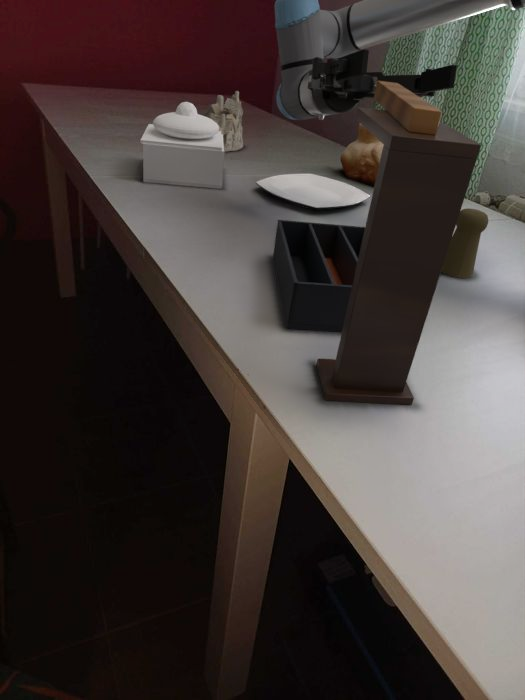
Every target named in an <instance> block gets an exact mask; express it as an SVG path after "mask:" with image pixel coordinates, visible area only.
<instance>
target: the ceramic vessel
mask: <svg viewBox="0 0 525 700" xmlns="http://www.w3.org/2000/svg"><path fill="white" fill-rule="evenodd" d="M383 146H384V144H382V143H381V142H380V141H379V140H378V139H377V138H376V137H375V136H374V135H373V134H371V133H370V132H369V131H368V130H367V129H366V128H365V127H364V126H363V125H361V124H360V123H359V124H358V135H357V139H356V140H354V141H353V142H351V143H349V144H348V145H347V146H346V148H344V150H342V153H341V155H340V163H341V167H342V172H343V174H345V176H346V177H347V178H348V179H350V180H353V181H356V182H360V183H363V184H365V185H366V184H367V185H370V186H373V187H374V186H375V181H376V177H377V172H378V168H379V163H380V159H381V154H382V150H383Z"/></svg>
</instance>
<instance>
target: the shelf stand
mask: <svg viewBox="0 0 525 700" xmlns="http://www.w3.org/2000/svg"><path fill="white" fill-rule="evenodd" d="M355 121H357V122H358V123H359V124H361V125H363V126H364V127H365V128H366V129H367V130H368V131H369V132H370V133H371V134H373V135H374V136H375V137H376V138H377V139H378V140H379V141H380V142H381V143H382V144H384V146H383V150H382V154H381V159H380V163H379V168H378V172H377V177H376V181H375V186H373V191H372V194H371V200H370V205H369V208H368V213H367V218H366V221H365V226H364V227H365V231H364V235H363V240H362V244H361V249H360V253H359V258H358V262H357V267H356V271H355V276H354V280H353V285H352V289H351V293H350V298H349V302H348V307H347V311H346V316H345V320H344V325H343V329H342V332H341V335H340V339H339V344H338V347H337V353H336V357H335V358H317V361H316V368H317V372H318V376H319V379H320V383H321V388H322V392H323V395H324V399H325V401H327V402H345V403H346V402H350V403H371V404H388V405H390V404H391V405H413V402H414V401H415V400H414V399H415V396H414V395H413V392H412V391H411V389H410V387H409V384H408V383H407V381H408V377H409V374H410V371H411V368H412V365H413V361H414V359H415V355H416V352H417V349H418V346H419V342H420V339H421V337H422V334H423V330H424V327H425V323H426V321H427V318H428V314H429V312H430V308H431V306H432V305H431V304H432V301H433V298H434V295H435V292H436V289H437V286H438V283H439V280H440V276H441V273H442V272H441V270H442V267H443V264H444V261H445V258H446V255H447V251H448V248H449V245H450V242H451V239H452V236H453V234H454V232H455V230H456V227H457V226H456V223H457V220H458V217H459V214H460V211H461V210H462V207H463V204H464V200H465V197H466V195H467V191H468V188H469V185H470V181H471V178H472V175H473V173H474V170H475V166H476V162H477V160H478V157H479V153H480V151H481V148H482V144H481V143H479V142H477V141H476V140H473V139H472V138H470V137H469V136H467V135H465V134H463V133H462V132H460V131H458V130H456V129H455V128H453V127H451V126H449V125H447V124H445V123H443V122H442V121H440V122H439V126H438V130H437V133H436V135H429V134H421V133H413V132H409V131H408V130H407V129H405V128H404V127H403V126H402V125H401V124H400V123H399V122H398V121H397V120H396V119H395V118H394V117H393V116H392V115H391V114H390V113H389V112H387V111H386V110H385V109H377V108H368V107H360V106H357V109H356V113H355Z"/></svg>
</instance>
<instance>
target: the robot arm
mask: <svg viewBox="0 0 525 700" xmlns="http://www.w3.org/2000/svg"><path fill="white" fill-rule="evenodd" d="M320 6H321V5H320V4H319V0H276V1H274V19H275V24H274V27H275V32H276V39H277V46H278V53H279V61H280V68H281V79H282V80H281V83H280V84H279V86H278V88H277V91H276V96H275V97H276V99H275V100H276V105H277V108H278V110H279V112H280V113H281V114H282V115H283V116H284V117H285V118H287V119H289V120H292V121H306V120H311V119H316V118H318V120H319V121H323V120H324V118H325V116H326V117H327V116H331V115H339V114H340V115H341V114H345V113H348V112H350V111H352V110H353V109H354V108H356V107H357V105H358V104H359V103H360V101H365V100H366V99H374V95H375V90H376V85H377V84H376V82H377V81H385V82H393V83H398V84H400V85H401V86H403V87H404V88H406V89H408V90H409V91H411V92H412V93H414V94H415V95H417V96H419V97H420V98H426V97H429V98H432V97H435V96H436V92H439V91H444V90H449V89H450V90H451V89H454V87H455V82H456V74H457V68H458V65H456V64H450V65H446V66H441V67H438V68H433V69H431V68H425V71H421V74H390V75H389V74H388V75H385V74H384V73H383V72H381V71H371V72H370V71H368V63H369V53H370V50H369V49H367V48H371V47H374V46H377V45H382V44H384V43H387V42H391V41H394V40H397V39H401V38H404V37H406V36H410V35H413V34H417V33H420V32H423V31H426V30H429V29H433V28H436V27H439V26H442V25H446V24H450V23H452V22H456V21H459V20H462V19H466V18H468V17H472V16H476V15H479V14H481V13H485V12H488V11H491V10H495V9H499V8H502V7H505V6H506V7H508V8H510V9H511V10H512V11H517V10H519V9H523V8H525V0H361V1H357V2H355V3H353V4H350V5H347V6H345V7H341V8H339V9H337V10H327V9H321V7H320ZM325 59H326V62H325ZM375 78H377V79H376V80H377V81H376V82H375Z"/></svg>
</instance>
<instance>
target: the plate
mask: <svg viewBox="0 0 525 700" xmlns="http://www.w3.org/2000/svg"><path fill="white" fill-rule="evenodd" d="M255 184H256V185H257V186H259V187H260V188H261V189H262V190H264V191H266V192H268V193H269V194H271V195H273V196H275V197H277V198H279V199H281V200H282V201H285V202H287V203H290V204H293V205H296V206H299V207H301V208H305V209H309V210H312V211H319V210H320V211H321V210H333V209H338V208H344V207H351V206H354V205H358V204H360V203H362V202H364V201H367V200H368V199H370V198H371V195H369V194H368V193H366V192H365V191H363V190H361V189H359V188H358V187H355V186H353V185H350V184H349V183H346V182H344V181H343V182H342V181H341V180H337V179H333V178H330V177H326V176H322V175H318V174H314V173H287V174H286V173H285V174H278V175H272V176H269V177H265V178H263V179H260V180H257V181H255Z"/></svg>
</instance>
